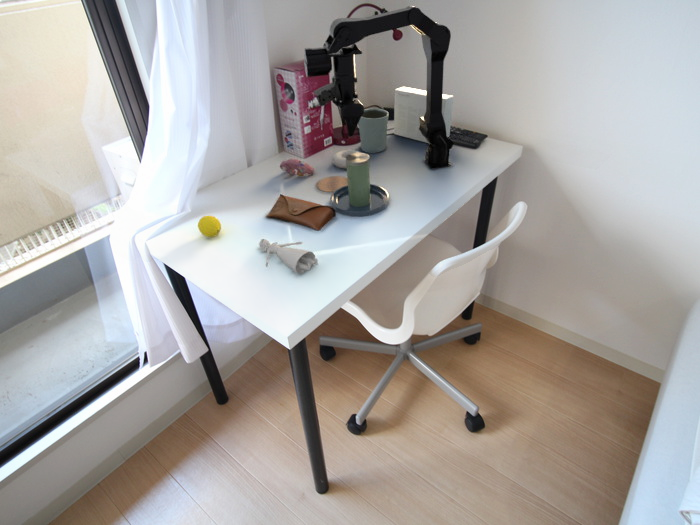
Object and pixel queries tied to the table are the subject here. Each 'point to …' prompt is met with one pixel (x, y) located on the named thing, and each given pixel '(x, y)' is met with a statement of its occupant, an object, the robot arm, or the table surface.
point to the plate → (343, 206)
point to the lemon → (209, 226)
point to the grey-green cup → (373, 130)
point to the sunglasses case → (302, 212)
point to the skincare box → (416, 112)
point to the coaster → (332, 183)
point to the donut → (342, 158)
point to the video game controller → (296, 167)
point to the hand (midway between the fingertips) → (347, 130)
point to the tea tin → (358, 179)
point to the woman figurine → (290, 255)
